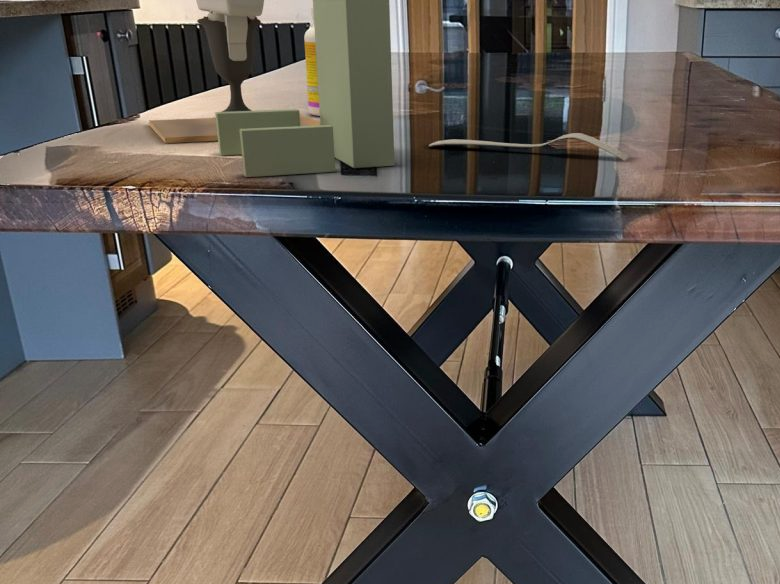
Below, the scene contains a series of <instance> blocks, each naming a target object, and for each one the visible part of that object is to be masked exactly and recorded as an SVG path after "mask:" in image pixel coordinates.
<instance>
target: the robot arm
mask: <svg viewBox="0 0 780 584" xmlns="http://www.w3.org/2000/svg"><path fill="white" fill-rule="evenodd" d="M196 5H197V8H198V9H199V10H200V11H203V12H208V13H209V12H210V10H211V8H213V9H214V11H215V12H216V13H218V14H223V15H224V18H225V26H226V29H227V42H228V43H227V54H228V58H229V59H231V60H233V61H244V60H246V58H247V51H246V39H247V30H248V23H247V16H256V17H260V16H262V15H263V12H264V11H263V10H264V5H265V0H196Z"/></svg>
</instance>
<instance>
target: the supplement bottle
mask: <svg viewBox="0 0 780 584" xmlns="http://www.w3.org/2000/svg"><path fill="white" fill-rule="evenodd" d="M310 16H311V19H312V26H311V27H310V28H308V29H307V30H306V31H305V33H304V37H303V38H304V52H305V53H304V55H305V72H306V88H307V89H306V92H307V106H308V108H307V109H308V112H309V113H310V114H311V115H313V116H316V117H320V109H319V93H318V76H317V60H316V44H315V28H314V11H313V5H312V6H311V5H310Z"/></svg>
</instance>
